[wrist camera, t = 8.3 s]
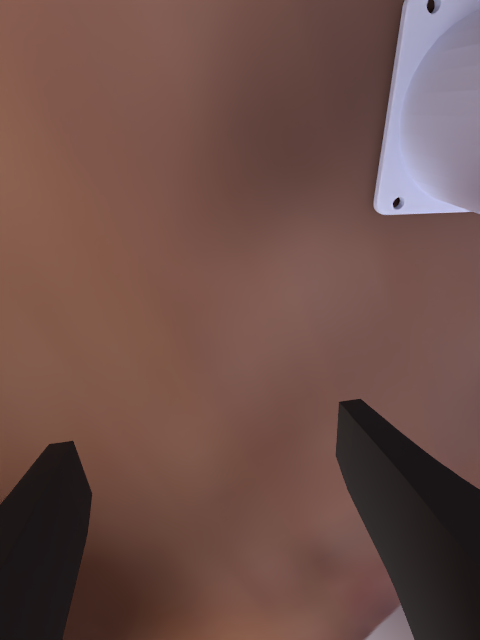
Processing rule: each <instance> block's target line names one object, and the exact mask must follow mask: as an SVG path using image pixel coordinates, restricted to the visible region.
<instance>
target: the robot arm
mask: <svg viewBox="0 0 480 640" xmlns="http://www.w3.org/2000/svg"><path fill="white" fill-rule="evenodd" d="M433 1H434V3H435V8H434V10H433V12H432V13H429V12H428V10H427V3H428V0H404V4H403V8H402V15H401V21H400V28H399V35H398V42H397V48H396V55H395V62H394V68H393V75H392V82H391V89H390V95H389V102H388V109H387V115H386V122H385V129H384V136H383V142H382V149H381V156H380V162H379V169H378V176H377V183H376V189H375V196H374V208H375V210H376V211H377V212H378V213H380V214H383V215H398V214H424V213H451V212H475V213H478V214H480V0H433ZM398 197H399V198H400V202H399V205H397V206H396V207H393V202H394V200H395V199H396V198H398ZM336 457H337V460H338V463H339V466H340V469H341V472H342V475H343V478H344V481H345V483H346V486H347V489H348V491H349V493H350V495H351V498H352V500H353V502H354V504H355V506H356V508H357V510H358V512H359V514H360V516H361V518H362V520H363V522H364V524H365V527H366V529H367V531H368V533H369V535H370V537H371V539H372V541H373V543H374V545H375V547H376V549H377V551H378V553H379V555H380V557H381V559H382V561H383V563H384V565H385V567H386V569H387V572H388V574H389V576H390V578H391V581H392V583H393V585H394V587H395V590H396V592H397V595H398V598H399V600H400V603H401V605H402V608H403V611H404V613H405V616H406V618H407V621H408V623H409V626H410V629H411V631H412V634H413V636H414V639H415V640H480V490H479V489H478V488H476V487H475V486H473V485H472V484H470V483H469V482H467V481H466V480H464V479H463V478H461V477H460V476H458V475H457V474H455V473H454V472H453V471H451V470H450V469H448V468H447V467H446V466H444V465H443V464H441V463H440V462H438V461H437V460H436V459H434V458H433V457H432V456H430V455H429V454H428V453H426V452H425V451H424V450H423V449H421V448H420V447H419V446H417V445H416V444H415V443H414V442H412V441H411V440H410V439H408V438H407V437H406V436H405V435H403V434H402V433H401V432H400V431H399V430H397V429H396V428H395V427H394V426H393V425H391V424H390V423H389V422H388V421H386V420H385V419H384V418H383V417H382V416H380V415H379V414H378V413H377V412H376V411H374V410H373V409H372V408H371V407H370V406H368V405H367V404H366V403H365V402H364V401H362V400H361V399H356V400H349V401H342V402H339V413H338V428H337V444H336ZM91 499H92V492H91V489H90V486H89V484H88V481H87V478H86V475H85V473H84V470H83V467H82V464H81V461H80V459H79V456H78V453H77V450H76V448H75V445H74V442H73V441H69V442H62V443H55V444H49V445H48V446H47V448H46V449H45V450H44V451H43V452H42V454H41V455H40V456H39V457H38V459H37V460H36V461H35V462H34V464H33V465H32V466H31V467H30V469H29V470H28V471H27V472H26V474H25V475H24V476H23V477H22V479H21V480H20V481H19V482H18V484H17V485H16V486H15V487H14V489H13V490H12V491H11V492H10V494H9V495H8V496H7V497H6V498H5V500H4V501H3V502H2V503H1V504H0V640H62V638H63V633H64V629H65V625H66V621H67V616H68V612H69V608H70V604H71V600H72V596H73V592H74V588H75V584H76V580H77V575H78V571H79V567H80V563H81V559H82V555H83V550H84V546H85V542H86V537H87V533H88V525H89V518H90V509H91Z"/></svg>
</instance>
